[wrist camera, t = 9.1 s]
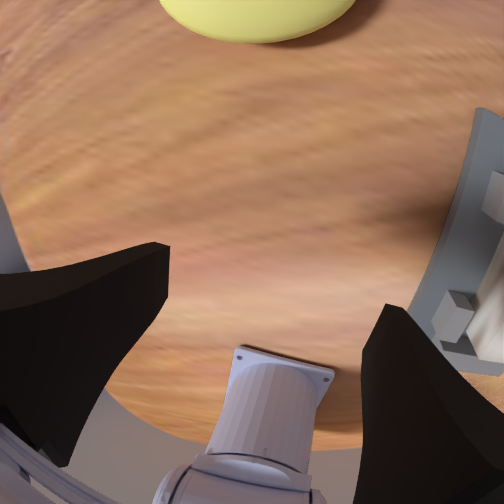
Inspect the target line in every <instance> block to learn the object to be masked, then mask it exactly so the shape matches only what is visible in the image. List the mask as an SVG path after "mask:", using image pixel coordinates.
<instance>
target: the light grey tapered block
mask: <svg viewBox="0 0 504 504" xmlns="http://www.w3.org/2000/svg"><path fill="white" fill-rule="evenodd" d="M471 306H472V308H473V309H474V311H475V312H474V314H473V316H472V318H471V319H470V321H469V323H468V324H467V326H466V328H465V330H466V333H467V335H468V337H469V339H470V341H471V343H472V345H473V347H474V350H475V352H476V354H477V356H478V359H479V360H485V361H491V362H498V363H504V232H503V234H502V237H501V239H500V242H499V244H498V247H497V249H496V252H495V254H494V256H493V259H492V261H491V263H490V265H489V267H488V270H487V272H486V274H485V276H484V278H483V280H482V282H481V284H480V286H479V288H478V290H477V292H476V294H475V296H474V298H473V300H472V302H471Z"/></svg>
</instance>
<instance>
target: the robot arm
mask: <svg viewBox="0 0 504 504" xmlns="http://www.w3.org/2000/svg"><path fill="white" fill-rule="evenodd" d="M169 259H170V246H167V245H164V244H160V243H157V242H150V243H145V244H141V245H138V246H134V247H131V248H128V249H124V250H121V251H118V252H114V253H111V254H108V255H105V256H101V257H98V258H94V259H90V260H87V261H83V262H79V263H76V264H72V265H67V266H63V267H58V268H52V269H47V270H41V271H32V272H23V273H15V274H14V273H13V274H0V504H55V503H54V502H53V501H51V500H50V499H49V498H47V497H46V496H45V495H43V494H42V493H41V492H39V491H38V490H37V489H35V488H34V487H33V486H32V485H31V484H30V477H29V475H30V476H31V477H32V478H33V479H35V480H36V481H37V482H39V483H40V484H42V485H43V486H44V487H45V488H47V489H49V490H50V491H51V492H52V493H54V494H55V495H57V496H58V497H60V498H62V499H63V500H64V501H66V502H67V503H69V504H120V503H118V502H116V501H114V500H112V499H110V498H108V497H106V496H105V495H103V494H101V493H99V492H97V491H95V490H94V489H92V488H90V487H88V486H87V485H85V484H84V483H82V482H80V481H79V480H77V479H75V478H74V477H72V476H71V475H69V474H67V473H66V472H64V471H63V470H61V469H60V468H61V467H66V466H68V464H69V461H70V458H71V456H72V453H73V451H74V448H75V446H76V443H77V441H78V438H79V436H80V433H81V431H82V429H83V427H84V425H85V423H86V420H87V419H88V416H89V414H90V412H91V410H92V409H93V407H94V405H95V403H96V401H97V399H98V397H99V396H100V394H101V392H102V390H103V388H104V387H105V385H106V383H107V382H108V380H109V378H110V377H111V375H112V373H113V372H114V370H115V369H116V368H117V366H118V365H119V363H120V362H121V361H122V359H123V358H124V357H125V356H126V354H127V353H128V352H129V351H130V349H131V348H132V347H133V346H134V344H135V343H136V342H137V341H138V340H139V338H140V337H141V336H142V335H143V333H144V332H145V331H146V330H147V328H148V327H149V326H150V325H151V323H152V322H153V321H154V319H155V318H156V316H157V315H158V313H159V311H160V310H161V308H162V306H163V305H164V303H165V301H166V299H167V298H168V282H169ZM240 356H242V357H240ZM334 377H335V371H334V370H333V369H329V368H325V367H321V366H316V365H312V364H308V363H304V362H300V361H296V360H292V359H288V358H284V357H280V356H276V355H272V354H269V353H265V352H261V351H258V350H254V349H251V348H247V347H244V346H238V347H236V349H235V352H234V357H233V362H232V367H231V372H230V377H229V382H228V387H227V392H226V397H225V402H224V406H223V409H222V411H221V414H220V417H219V419H218V422H217V424H216V427H215V429H214V432H213V434H212V437H211V439H210V442H209V444H208V447H207V449H206V451H205V454H200V453H198V454H197V455H196V457H195V459H194V461H193V464H188V463H182V464H180V465H179V466H177V467H175V468H173V469H172V470H170V471H169V472H168V473H167V475H166V476H165V477H164V479H163V480H162V482H161V484H160V486H159V488H158V490H157V492H156V495H155V497H154V500H153V503H152V504H327V501H326V499H325V498H324V496H323V495H322V494H321V491H320V490H318V489H310V486H311V480H312V476H311V475H307V473H308V467H309V461H310V454H311V447H312V440H313V432H314V424H315V416H316V409H317V407H318V406H319V404H320V402H321V401H322V399H323V397H324V395H325V393H326V392H327V390H328V388H329V386H330V384H331V383H332V381H333V379H334ZM325 378H328V379H325ZM361 392H362V414H363V446H362V454H361V462H360V470H359V475H358V481H357V486H356V491H355V496H354V500H353V504H504V413H502V412H501V411H500V410H498V409H497V408H496V407H495V406H494V405H492V404H491V403H490V402H489V401H488V400H486V399H485V398H484V397H483V396H482V395H481V394H480V393H479V392H478V391H477V390H476V389H474V388H473V387H472V386H471V385H470V384H469V383H468V382H467V381H466V380H465V379H464V378H463V377H462V376H461V375H460V373H459V372H458V371H457V370H456V369H455V368H454V367H453V366H452V365H451V363H450V362H449V361H448V360H447V359H446V358H445V357H444V356H443V354H442V353H441V352H440V351H439V350H438V348H437V347H436V346H435V345H434V344H433V342H432V341H431V340H430V339H429V337H428V336H427V335H426V334H425V333H424V331H423V330H422V329H421V328H420V327H419V325H418V324H417V323H416V322H415V321H414V319H413V318H412V317H411V316H410V315H409V314H408V313H407V312H406V311H405V310H404V309H403V308H402V307H398V306H394V305H390V304H385V306H384V308H383V310H382V312H381V314H380V317H379V319H378V321H377V323H376V325H375V327H374V329H373V331H372V333H371V335H370V337H369V339H368V341H367V343H366V345H365V347H364V348H363V351H362V364H361Z"/></svg>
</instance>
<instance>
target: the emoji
mask: <svg viewBox="0 0 504 504" xmlns="http://www.w3.org/2000/svg"><path fill="white" fill-rule="evenodd" d="M355 1H356V0H160V2H161V4H162V6H163V7H164V8H165V10H166V11H167V12H168V13H169V15H170V16H171V17H173V18H174V19H175V20H176V21H177V22H178V23H180V24H181V25H183V26H185V27H186V28H188V29H190V30H191V31H193V32H196V33H198V34H201V35H203V36H206V37H209V38H213V39H217V40H220V41H226V42H234V43H250V44H260V43H271V42H279V41H284V40H289V39H294V38H297V37H300V36H303V35H306V34H309V33H312V32H314V31H316V30H318V29H320V28H322V27H325V26H327V25H328V24H330V23H331V22H333V21H334V20H336V19H337V18H339V17H340V16H341V15H343V14H344V13H345V12H346V11H347V10H348V9H349V8H350V7H351V6H352V5H353V3H354V2H355Z"/></svg>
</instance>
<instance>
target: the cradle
mask: <svg viewBox="0 0 504 504" xmlns="http://www.w3.org/2000/svg"><path fill="white" fill-rule="evenodd" d="M503 232H504V119H503V118H501V117H500V116H498V115H496V114H494V113H492V112H491V111H489V110H487V109H485V108H476V112H475V118H474V123H473V127H472V132H471V136H470V141H469V145H468V149H467V153H466V157H465V161H464V165H463V168H462V172H461V175H460V179H459V182H458V186H457V189H456V192H455V195H454V198H453V201H452V204H451V207H450V210H449V213H448V216H447V219H446V222H445V225H444V227H443V230H442V233H441V235H440V238H439V241H438V243H437V246H436V248H435V251H434V253H433V256H432V258H431V260H430V263H429V265H428V267H427V270H426V272H425V274H424V277H423V279H422V281H421V283H420V285H419V288H418V290H417V292H416V294H415V296H414V298H413V300H412V302H411V304H410V306H409V308H408V310H407V313H408V314H409V315H410V316H411V317H412V318H413V319H414V321H415V322H416V323H417V324H418V325H419V327H420V328H421V329H422V330H423V331H424V333H425V334H426V335H427V336H428V337H429V339H430V340H431V341H432V342H433V344H434V345H435V346H436V347H437V348H438V350H439V351H440V352H441V353H442V354H443V356H444V357H445V358H446V359H447V360H448V361H449V362H450V363H451V365H452V366H453V367H454V368H455V369H456V370H457V371H462V372H469V373H476V374H484V375H492V376H500V375H501V374H502V373H503V371H504V363H498V362H491V361H485V360H479V359H478V356H477V354H476V352H475V350H474V347H473V345H472V343H471V341H470V339H469V337H468V335H467V333H466V330H465V328H466V326H467V324H468V323H469V321H470V319H471V318H472V316H473V314H474V312H475V311H474V309H473V308H472V306H471V302H472V300H473V298H474V296H475V294H476V292H477V290H478V288H479V286H480V284H481V282H482V280H483V278H484V276H485V274H486V272H487V270H488V267H489V265H490V263H491V261H492V259H493V256H494V254H495V252H496V249H497V247H498V244H499V242H500V239H501V237H502V234H503Z"/></svg>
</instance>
